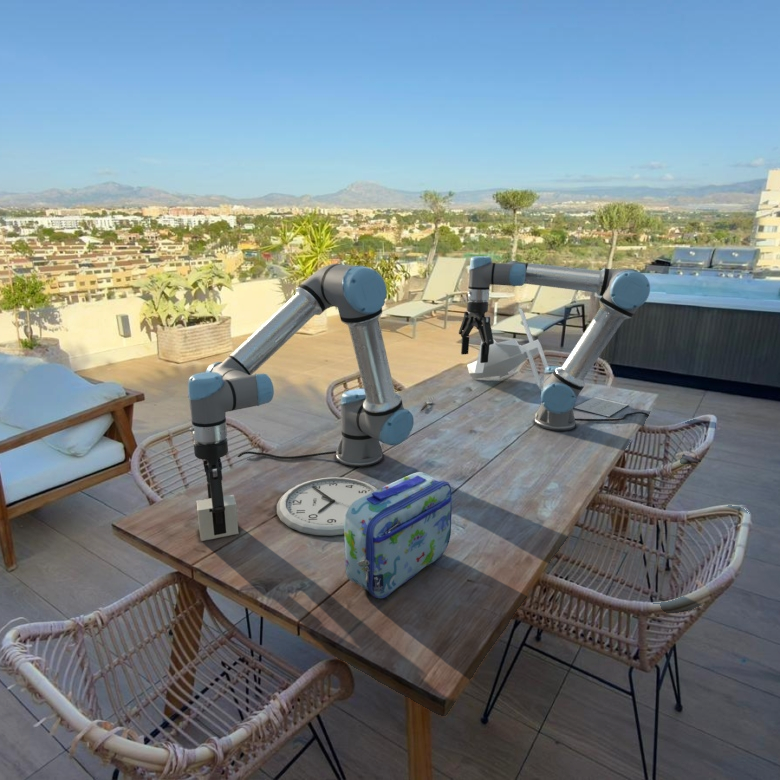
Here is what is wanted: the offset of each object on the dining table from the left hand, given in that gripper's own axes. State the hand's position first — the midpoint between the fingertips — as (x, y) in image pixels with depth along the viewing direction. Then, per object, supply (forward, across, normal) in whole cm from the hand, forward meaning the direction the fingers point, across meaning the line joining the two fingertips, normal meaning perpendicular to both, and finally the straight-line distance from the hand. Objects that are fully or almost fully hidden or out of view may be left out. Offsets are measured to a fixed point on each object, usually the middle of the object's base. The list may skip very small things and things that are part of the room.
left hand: (217, 519), depth 128 cm
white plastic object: (+3, -82, +142) cm, 164 cm away
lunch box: (+4, +30, +36) cm, 47 cm away
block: (+4, 0, 0) cm, 4 cm away
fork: (+3, -68, +91) cm, 114 cm away
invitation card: (+3, -41, +163) cm, 168 cm away
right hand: (-24, -42, +97) cm, 108 cm away
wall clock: (+4, -2, +30) cm, 30 cm away
